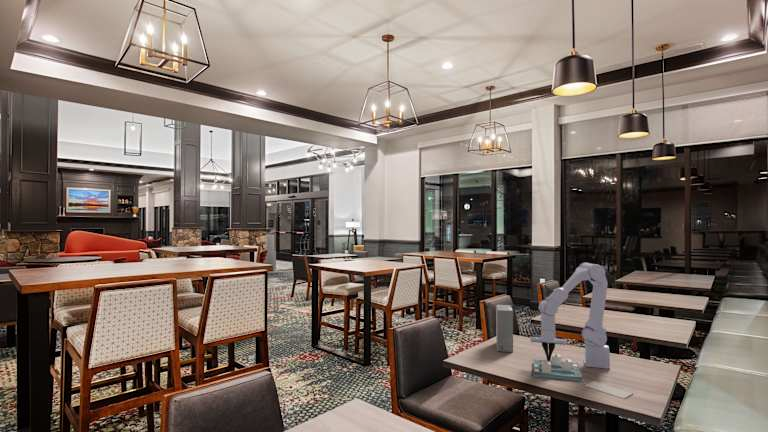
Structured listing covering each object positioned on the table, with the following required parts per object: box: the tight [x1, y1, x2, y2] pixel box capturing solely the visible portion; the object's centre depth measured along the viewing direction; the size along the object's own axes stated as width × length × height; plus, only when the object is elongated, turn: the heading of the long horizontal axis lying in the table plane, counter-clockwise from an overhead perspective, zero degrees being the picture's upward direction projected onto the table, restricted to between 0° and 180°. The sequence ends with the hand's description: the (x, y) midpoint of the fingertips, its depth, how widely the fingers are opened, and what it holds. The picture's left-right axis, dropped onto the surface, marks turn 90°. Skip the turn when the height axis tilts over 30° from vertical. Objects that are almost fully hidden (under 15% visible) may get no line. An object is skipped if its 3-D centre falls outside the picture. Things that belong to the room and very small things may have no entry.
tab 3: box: [561, 357, 573, 371], centre depth 172 cm, size 4×4×5 cm
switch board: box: [532, 358, 584, 383], centre depth 173 cm, size 18×17×2 cm
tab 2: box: [551, 352, 562, 366], centre depth 178 cm, size 4×4×5 cm
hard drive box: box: [495, 304, 514, 353], centre depth 207 cm, size 16×8×20 cm, turn 167°
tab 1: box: [542, 359, 551, 374], centre depth 169 cm, size 4×4×5 cm
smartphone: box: [583, 381, 634, 400], centre depth 154 cm, size 7×1×15 cm
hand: (548, 360), depth 179 cm, fingers closed
